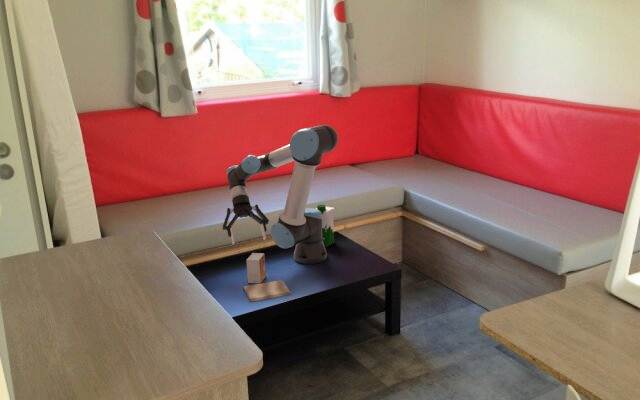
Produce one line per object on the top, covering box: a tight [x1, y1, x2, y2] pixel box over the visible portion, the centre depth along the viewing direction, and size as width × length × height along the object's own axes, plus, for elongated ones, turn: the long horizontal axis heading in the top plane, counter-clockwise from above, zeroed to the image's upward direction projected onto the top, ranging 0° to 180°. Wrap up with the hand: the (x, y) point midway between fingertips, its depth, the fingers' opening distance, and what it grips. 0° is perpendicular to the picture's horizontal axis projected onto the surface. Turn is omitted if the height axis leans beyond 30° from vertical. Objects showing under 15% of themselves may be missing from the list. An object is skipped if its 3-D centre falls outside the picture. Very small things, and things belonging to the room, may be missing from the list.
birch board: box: [243, 279, 291, 303], centre depth 219 cm, size 16×12×1 cm
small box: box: [245, 252, 267, 284], centre depth 229 cm, size 8×6×10 cm
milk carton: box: [315, 204, 335, 248], centre depth 265 cm, size 9×9×20 cm
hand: (249, 240), depth 236 cm, fingers open, 13 cm apart
